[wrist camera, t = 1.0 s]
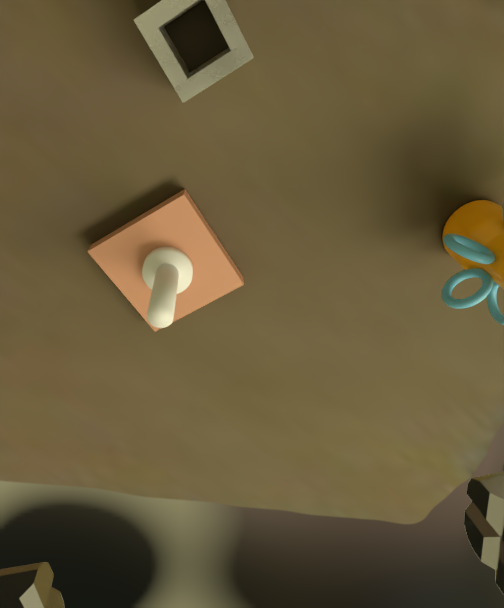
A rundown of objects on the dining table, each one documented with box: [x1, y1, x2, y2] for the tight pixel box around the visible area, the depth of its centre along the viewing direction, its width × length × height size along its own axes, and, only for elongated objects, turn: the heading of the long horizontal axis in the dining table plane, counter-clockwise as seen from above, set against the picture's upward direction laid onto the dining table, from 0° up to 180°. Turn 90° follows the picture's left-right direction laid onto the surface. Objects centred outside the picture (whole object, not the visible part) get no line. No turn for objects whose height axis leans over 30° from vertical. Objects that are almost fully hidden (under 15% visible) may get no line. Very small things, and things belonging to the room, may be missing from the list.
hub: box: [134, 0, 254, 103], centre depth 32 cm, size 6×6×5 cm
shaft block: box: [87, 189, 244, 331], centre depth 39 cm, size 10×10×10 cm
